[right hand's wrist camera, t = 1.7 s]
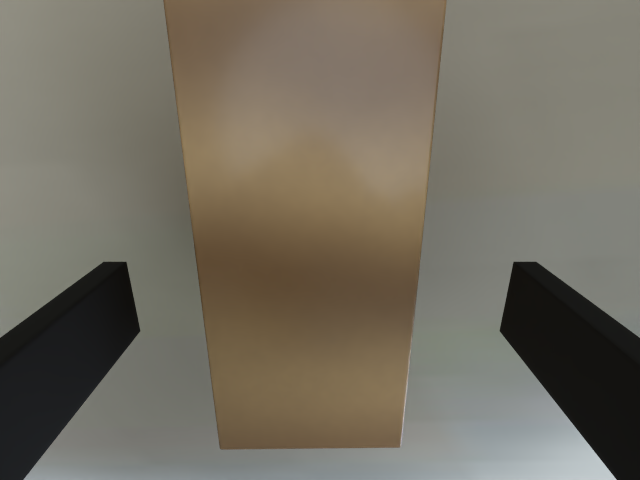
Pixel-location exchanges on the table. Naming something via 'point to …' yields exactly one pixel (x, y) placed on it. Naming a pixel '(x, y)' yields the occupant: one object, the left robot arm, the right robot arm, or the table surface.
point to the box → (307, 207)
